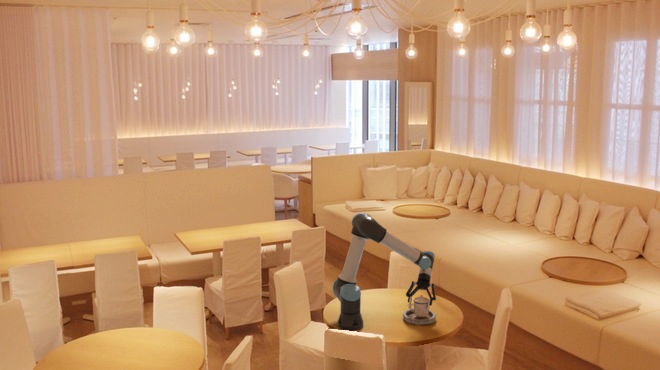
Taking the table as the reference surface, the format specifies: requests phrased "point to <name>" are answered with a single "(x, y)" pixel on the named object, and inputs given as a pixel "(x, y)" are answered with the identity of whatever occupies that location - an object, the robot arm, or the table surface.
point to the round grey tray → (418, 318)
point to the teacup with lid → (420, 306)
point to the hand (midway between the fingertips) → (418, 308)
